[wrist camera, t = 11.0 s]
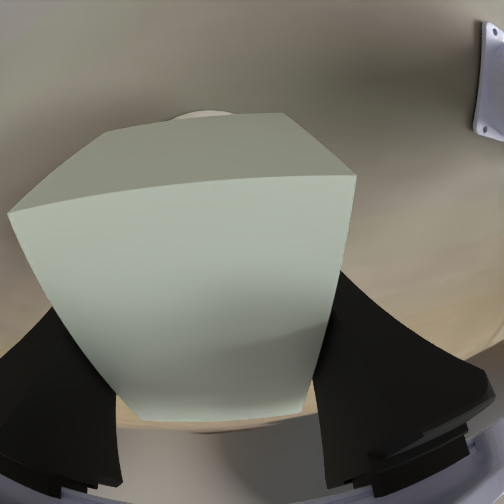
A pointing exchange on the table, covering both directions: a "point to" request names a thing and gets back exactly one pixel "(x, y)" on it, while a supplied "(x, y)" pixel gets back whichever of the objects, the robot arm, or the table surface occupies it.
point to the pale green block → (195, 261)
